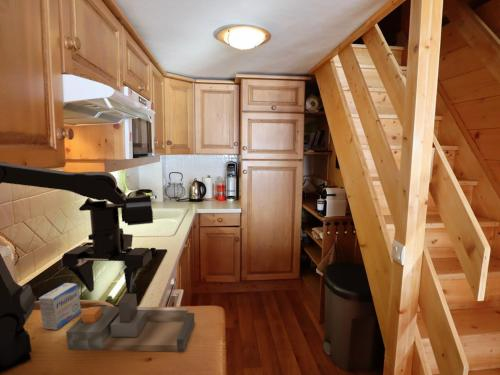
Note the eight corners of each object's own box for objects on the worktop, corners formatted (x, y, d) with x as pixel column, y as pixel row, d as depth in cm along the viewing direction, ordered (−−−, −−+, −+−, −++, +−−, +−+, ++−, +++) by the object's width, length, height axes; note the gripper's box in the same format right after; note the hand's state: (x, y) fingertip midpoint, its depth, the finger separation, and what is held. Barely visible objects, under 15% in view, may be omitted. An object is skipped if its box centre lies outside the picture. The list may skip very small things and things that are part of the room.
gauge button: (83, 327, 67) (81, 314, 66) (90, 320, 70) (89, 307, 69) (95, 327, 67) (93, 314, 66) (102, 320, 70) (100, 307, 69)
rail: (68, 349, 64) (66, 331, 63) (94, 322, 74) (92, 306, 73) (184, 351, 63) (183, 333, 62) (194, 323, 73) (193, 307, 72)
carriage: (111, 336, 65) (108, 304, 64) (123, 321, 71) (120, 291, 70) (137, 336, 65) (134, 304, 64) (146, 321, 71) (144, 292, 70)
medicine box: (57, 331, 71) (53, 298, 69) (42, 329, 72) (37, 297, 70) (81, 312, 78) (78, 283, 77) (68, 311, 79) (64, 282, 78)
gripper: (158, 219, 72) (161, 276, 74) (87, 218, 73) (92, 275, 75) (139, 232, 61) (143, 299, 63) (56, 230, 62) (63, 297, 64)
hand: (110, 291), depth 67 cm, fingers open, 9 cm apart
